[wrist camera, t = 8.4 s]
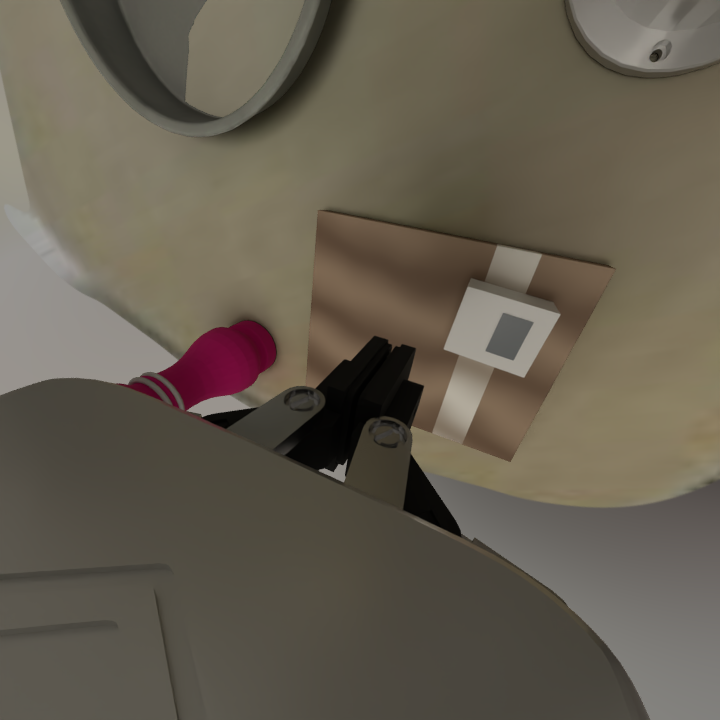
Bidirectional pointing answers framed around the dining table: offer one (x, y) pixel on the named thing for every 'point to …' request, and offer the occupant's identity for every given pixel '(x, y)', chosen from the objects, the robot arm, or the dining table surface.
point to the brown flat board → (442, 319)
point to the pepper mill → (212, 366)
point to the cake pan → (175, 58)
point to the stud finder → (501, 327)
